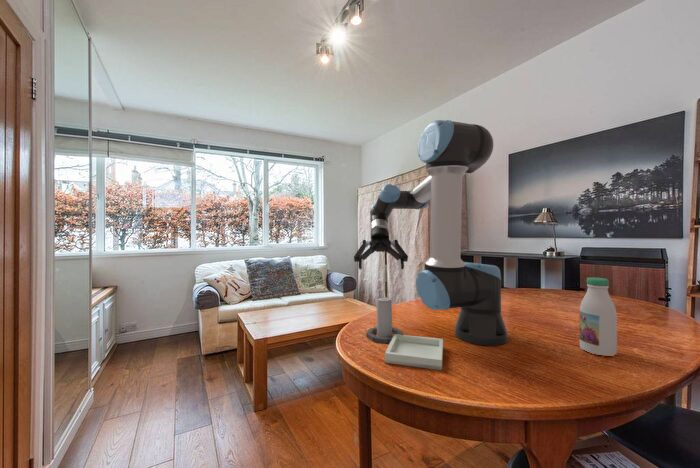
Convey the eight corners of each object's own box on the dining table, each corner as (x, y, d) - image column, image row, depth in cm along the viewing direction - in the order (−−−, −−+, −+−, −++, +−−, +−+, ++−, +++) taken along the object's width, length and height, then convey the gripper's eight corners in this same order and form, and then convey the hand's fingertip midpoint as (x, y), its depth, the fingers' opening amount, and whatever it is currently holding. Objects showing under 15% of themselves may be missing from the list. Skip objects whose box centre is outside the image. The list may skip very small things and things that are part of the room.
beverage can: (391, 339, 90) (391, 301, 90) (376, 338, 91) (375, 300, 91) (392, 333, 95) (391, 297, 95) (377, 333, 96) (377, 297, 96)
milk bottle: (607, 347, 81) (607, 276, 81) (623, 359, 74) (623, 281, 73) (574, 344, 84) (574, 275, 83) (586, 355, 76) (586, 280, 76)
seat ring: (404, 331, 96) (404, 328, 96) (398, 344, 86) (398, 340, 86) (372, 328, 100) (372, 325, 100) (363, 340, 89) (363, 336, 89)
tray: (443, 347, 83) (443, 338, 83) (441, 370, 70) (441, 360, 70) (394, 342, 88) (394, 334, 88) (385, 362, 75) (384, 353, 75)
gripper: (409, 238, 120) (415, 281, 106) (349, 239, 122) (347, 281, 108) (411, 226, 115) (417, 269, 100) (348, 226, 117) (346, 269, 102)
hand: (381, 275), depth 104 cm, fingers open, 13 cm apart
